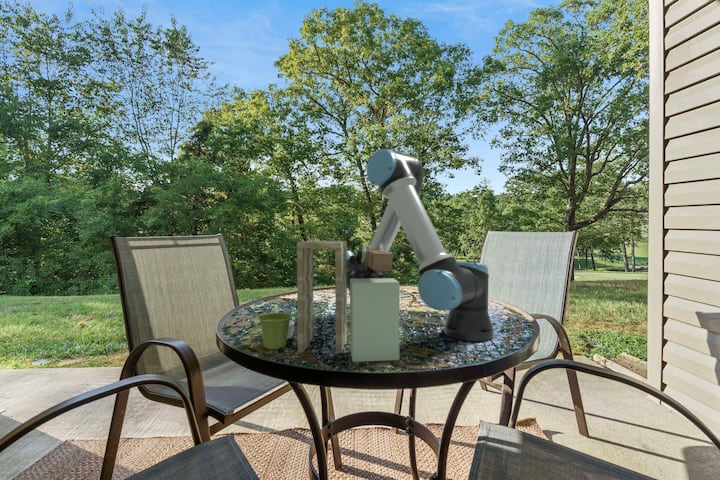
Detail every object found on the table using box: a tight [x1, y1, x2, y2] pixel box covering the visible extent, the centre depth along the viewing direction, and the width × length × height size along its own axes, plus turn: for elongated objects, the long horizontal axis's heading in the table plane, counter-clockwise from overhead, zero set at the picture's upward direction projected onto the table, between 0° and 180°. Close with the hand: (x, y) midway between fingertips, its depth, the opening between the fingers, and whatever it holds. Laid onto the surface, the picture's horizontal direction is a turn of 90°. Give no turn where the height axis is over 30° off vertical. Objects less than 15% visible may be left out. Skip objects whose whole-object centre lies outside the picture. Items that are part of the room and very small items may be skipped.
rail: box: [363, 248, 393, 272], centre depth 94 cm, size 24×4×4 cm, turn 7°
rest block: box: [349, 277, 400, 363], centre depth 94 cm, size 12×8×20 cm, turn 96°
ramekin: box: [287, 319, 295, 340], centre depth 112 cm, size 9×9×4 cm
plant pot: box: [257, 312, 293, 350], centre depth 102 cm, size 9×9×9 cm
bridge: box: [296, 240, 348, 354], centre depth 103 cm, size 14×12×30 cm
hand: (373, 247), depth 98 cm, fingers closed on rail, 4 cm apart
